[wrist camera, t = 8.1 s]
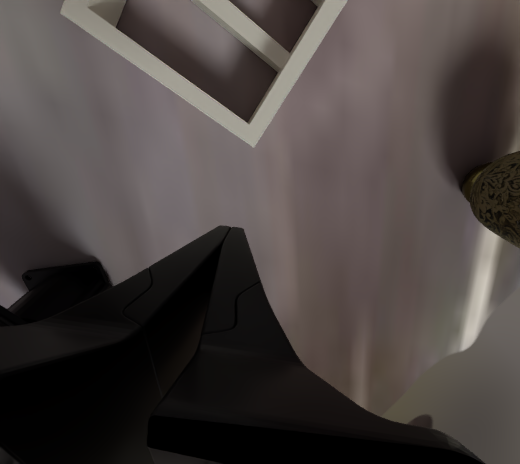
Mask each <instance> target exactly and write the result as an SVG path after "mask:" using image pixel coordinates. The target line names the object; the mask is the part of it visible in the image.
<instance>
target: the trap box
mask: <svg viewBox="0 0 520 464" xmlns="http://www.w3.org/2000/svg"><path fill="white" fill-rule="evenodd" d="M126 1H127V0H64V3H63V6H62V9H61V12H60V13H61V14H62V15H64V16H65V17H67V18H68V19H69V20H71V21H72V22H74V23H75V24H77V25H78V26H80V27H81V28H82V29H84V30H85V31H87V32H88V33H90V34H91V35H92V36H94V37H95V38H97V39H98V40H100V41H101V42H103V43H104V44H105V45H107V46H108V47H110V48H111V49H113V50H114V51H115V52H117V53H118V54H120V55H121V56H123V57H124V58H126V59H127V60H128V61H130V62H131V63H133V64H134V65H136V66H137V67H138V68H140V69H141V70H143V71H144V72H146V73H147V74H149V75H150V76H151V77H153V78H154V79H156V80H157V81H159V82H160V83H161V84H163V85H164V86H166V87H167V88H169V89H170V90H172V91H173V92H174V93H176V94H177V95H179V96H180V97H182V98H183V99H184V100H186V101H187V102H189V103H190V104H192V105H193V106H195V107H196V108H197V109H199V110H200V111H202V112H203V113H205V114H206V115H207V116H209V117H210V118H212V119H213V120H215V121H216V122H218V123H219V124H220V125H222V126H223V127H225V128H226V129H228V130H229V131H230V132H232V133H233V134H235V135H236V136H238V137H239V138H241V139H242V140H243V141H245V142H246V143H248V144H249V145H251V146H252V147H253V148H254V147H255V145H256V144H257V142H258V141H259V139H260V138H261V136H262V134H263V133H264V131H265V130H266V128H267V126H268V125H269V123H270V122H271V120H272V119H273V117H274V115H275V114H276V112H277V111H278V109H279V108H280V106H281V104H282V103H283V101H284V100H285V98H286V97H287V95H288V93H289V92H290V90H291V89H292V87H293V86H294V84H295V82H296V81H297V79H298V78H299V76H300V74H301V73H302V71H303V70H304V68H305V67H306V65H307V63H308V62H309V60H310V59H311V57H312V56H313V54H314V52H315V51H316V49H317V48H318V46H319V45H320V43H321V41H322V40H323V38H324V37H325V35H326V34H327V32H328V30H329V29H330V27H331V26H332V24H333V22H334V21H335V19H336V18H337V16H338V15H339V13H340V11H341V10H342V8H343V7H344V5H345V4H346V2H347V0H311V1H312V2H313V3H314V4H315V5H316V6H317V7H318V8H317V9H316V11H315V13H314V14H313V16H312V18H311V19H310V21H309V22H308V24H307V26H306V27H305V29H304V31H303V32H302V34H301V36H300V37H299V39H298V41H297V42H296V44H295V46H294V47H293V49H292V50H291V52H290V53H289V52H288V51H287V50H285V49H284V48H283V47H282V46H281V45H280V44H278V43H277V42H276V41H275V40H274V39H273V38H272V37H270V36H269V35H268V34H267V33H266V32H265V31H263V30H262V29H261V28H260V27H259V26H258V25H256V24H255V23H254V22H253V21H252V20H251V19H249V18H248V17H247V16H246V15H245V14H244V13H243V12H241V11H240V10H239V9H238V8H237V7H236V6H234V5H233V4H232V3H231V2H230V1H229V0H190V1H192V2H193V3H194V4H195V5H197V6H198V7H199V8H200V9H201V10H203V11H204V12H205V13H206V14H208V15H209V16H210V17H211V18H212V19H214V20H215V21H216V22H217V23H218V24H220V25H221V26H222V27H223V28H225V29H226V30H227V31H228V32H229V33H231V34H232V35H233V36H234V37H235V38H237V39H238V40H239V41H240V42H242V43H243V44H244V45H245V46H246V47H248V48H249V49H250V50H251V51H253V52H254V53H255V54H256V55H257V56H259V57H260V58H261V59H262V60H263V61H265V62H266V63H267V64H268V65H270V66H271V67H272V68H273V69H274V70H276V71H277V72H278V74H277V75H276V77H275V78H274V80H273V82H272V83H271V85H270V87H269V88H268V90H267V92H266V93H265V95H264V97H263V98H262V100H261V102H260V103H259V105H258V106H257V108H256V110H255V111H254V113H253V115H252V116H251V118H250V120H249V121H248V123H246V122H245V121H244V120H242V119H241V118H240V117H238V116H237V115H235V114H234V113H233V112H231V111H230V110H228V109H227V108H226V107H224V106H223V105H222V104H220V103H219V102H217V101H216V100H215V99H213V98H212V97H210V96H209V95H208V94H206V93H205V92H204V91H202V90H201V89H199V88H198V87H197V86H195V85H194V84H192V83H191V82H190V81H188V80H187V79H186V78H184V77H183V76H181V75H180V74H179V73H177V72H176V71H174V70H173V69H172V68H170V67H169V66H168V65H166V64H165V63H163V62H162V61H161V60H159V59H158V58H156V57H155V56H154V55H152V54H151V53H150V52H148V51H147V50H145V49H144V48H143V47H141V46H140V45H138V44H137V43H136V42H134V41H133V40H132V39H130V38H129V37H127V36H126V35H125V34H123V33H122V32H120V31H119V30H118V29H116V26H117V23H118V21H119V18H120V16H121V13H122V11H123V8H124V6H125V3H126Z"/></svg>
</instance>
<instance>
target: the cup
mask: <svg viewBox="0 0 520 464" xmlns="http://www.w3.org/2000/svg"><path fill="white" fill-rule="evenodd" d="M462 193H463V195H464V197H465V198H466V200H467V201H468V202H470V206H471V209H472V212H473V214H474V215H475V217H476V218H477V219H478V221H479V222H481V223H482V224H483V225H484V226H485V227H486V228H488V229H489V230H491V231H492V232H494V233H495V234H497V235H498V236H500V237H501V238H503V239H505V240H506V241H508V242H510V243H511V244H513V245H515V246H516V247H518V248H520V151H518V152H514V153H511V154H508V155H506V156H503V157H501V158H499V159H497V160H496V161H494V162H490V163H485V164H482V165H479V166H477V167H475V168H474V169H473V170H471V171H470V172H469V173H468V175H467V176H466V178H465V179H464V182H463V185H462Z"/></svg>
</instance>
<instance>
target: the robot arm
mask: <svg viewBox="0 0 520 464" xmlns="http://www.w3.org/2000/svg"><path fill="white" fill-rule="evenodd" d="M93 267H96V268H97V269H94V268H93ZM29 276H31V277H32V278H31V277H29ZM22 279H23V281H24V282H25V284H26V286H27V288H28V289H29V291H28V292H27V293H26V294H25V295H23V296H22V297H21V298H20V299H19V300H17V301H16V302H15V303H14V304H13V305H11V306H10V307H9V308H8V309H6V308H4V307H3V306H1V305H0V464H485V463H484V462H483V461H482V460H481V459H479V458H478V457H477V456H476V455H475V454H474V453H473V452H471V451H470V450H469V449H467V448H466V447H465V446H464V445H462V444H461V443H460V442H459V441H457V440H456V439H454V438H453V437H451V436H450V435H448V434H445V433H443V432H441V431H438V430H435V429H431V428H426V427H421V426H415V425H408V424H402V423H398V422H394V421H390V420H388V419H385V418H382V417H379V416H377V415H375V414H373V413H371V412H369V411H367V410H365V409H364V408H362V407H360V406H359V405H357V404H356V403H355V402H353V401H352V400H350V399H349V398H348V397H346V396H345V395H343V394H342V393H341V392H339V391H338V390H337V389H335V388H334V387H332V386H331V385H330V384H328V383H327V382H326V381H324V380H323V379H321V378H320V377H319V376H317V375H316V374H314V373H313V372H312V371H310V370H309V369H308V368H307V367H306V366H305V365H304V364H303V363H302V362H301V361H300V359H299V358H298V356H297V355H296V353H295V351H294V349H293V348H292V346H291V344H290V342H289V340H288V338H287V337H286V335H285V333H284V331H283V329H282V327H281V326H280V324H279V322H278V320H277V318H276V316H275V314H274V312H273V310H272V308H271V306H270V304H269V302H268V299H267V297H266V294H265V292H264V289H263V286H262V283H261V280H260V277H259V274H258V271H257V268H256V265H255V262H254V259H253V256H252V253H251V250H250V247H249V244H248V241H247V238H246V235H245V232H244V229H243V228H238V227H232V228H231V227H229V226H218V227H216V228H215V229H213V230H211V231H209V232H208V233H206V234H204V235H203V236H201V237H199V238H198V239H196V240H194V241H192V242H191V243H189V244H187V245H186V246H184V247H182V248H180V249H179V250H177V251H175V252H174V253H172V254H170V255H168V256H167V257H165V258H163V259H162V260H160V261H158V262H157V263H155V264H153V265H151V266H150V267H149V268H146V269H144V270H143V271H141V272H139V273H138V274H136V275H134V276H132V277H130V278H129V279H127V280H125V281H123V282H121V283H119V284H117V285H115V286H113V287H111V285H110V284H109V282H108V280H107V278H106V275H105V273H104V270H103V268H102V265H101V264H100V263H98V262H89V263H81V264H74V265H66V266H58V267H51V268H43V269H35V270H29V271H26V272H25V273H24V274H23V275H22Z"/></svg>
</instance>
